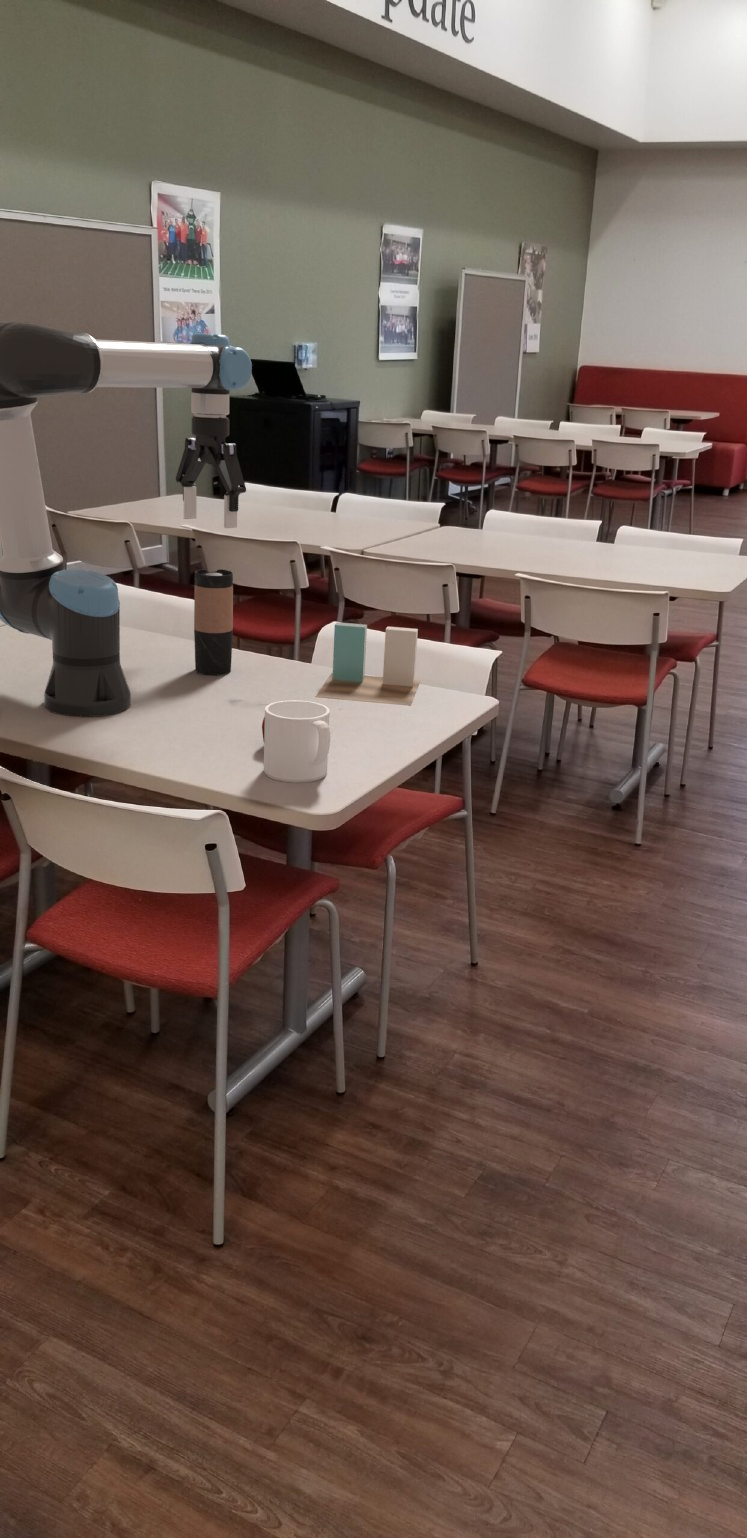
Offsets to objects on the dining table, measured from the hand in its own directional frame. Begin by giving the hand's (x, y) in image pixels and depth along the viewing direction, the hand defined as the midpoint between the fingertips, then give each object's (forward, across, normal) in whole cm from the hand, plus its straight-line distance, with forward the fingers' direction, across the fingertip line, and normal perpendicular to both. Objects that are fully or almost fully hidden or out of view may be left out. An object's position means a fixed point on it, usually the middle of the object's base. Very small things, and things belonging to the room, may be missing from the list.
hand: (209, 523), depth 245 cm
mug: (+28, -68, +34) cm, 81 cm away
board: (+27, -42, -6) cm, 51 cm away
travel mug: (+28, -12, +8) cm, 31 cm away
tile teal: (+26, -36, -7) cm, 45 cm away
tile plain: (+26, -43, -13) cm, 52 cm away
